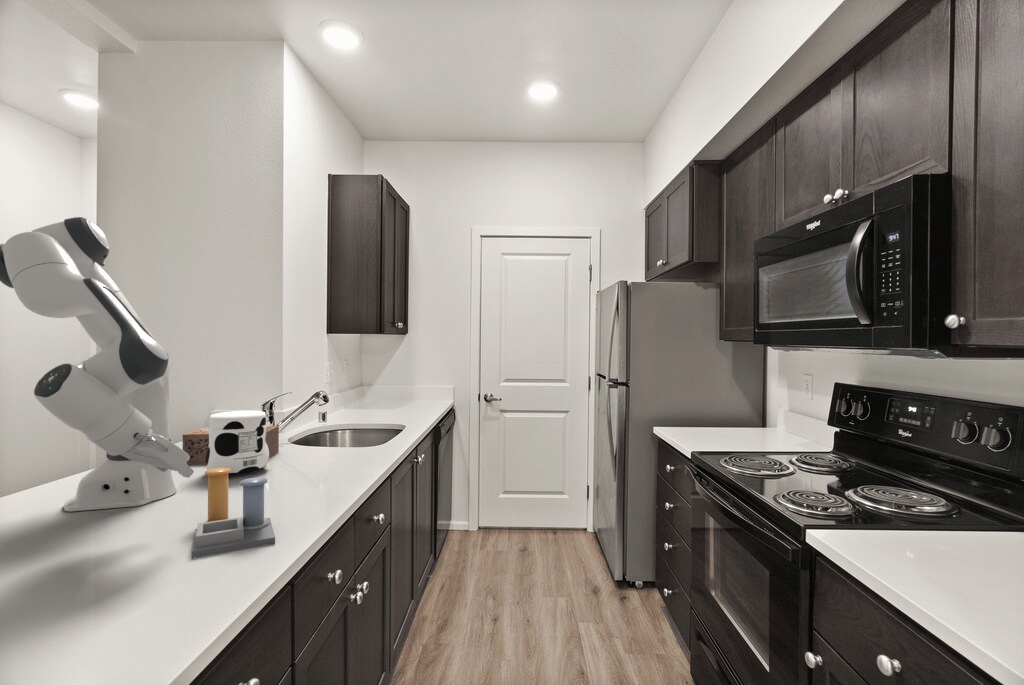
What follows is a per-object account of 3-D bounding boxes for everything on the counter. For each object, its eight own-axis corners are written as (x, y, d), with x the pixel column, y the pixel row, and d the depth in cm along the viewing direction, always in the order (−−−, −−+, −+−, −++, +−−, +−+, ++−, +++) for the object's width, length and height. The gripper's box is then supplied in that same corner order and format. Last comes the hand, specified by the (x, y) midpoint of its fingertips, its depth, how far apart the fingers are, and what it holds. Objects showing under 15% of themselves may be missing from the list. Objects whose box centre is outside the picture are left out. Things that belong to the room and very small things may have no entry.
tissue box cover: (278, 453, 184) (278, 425, 184) (265, 462, 170) (265, 432, 170) (202, 455, 181) (202, 427, 181) (182, 464, 166) (182, 434, 166)
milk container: (227, 465, 165) (227, 410, 165) (279, 465, 164) (279, 410, 164) (191, 479, 148) (192, 418, 148) (250, 480, 147) (250, 418, 147)
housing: (192, 557, 94) (192, 500, 94) (195, 534, 105) (195, 483, 105) (275, 543, 101) (275, 489, 101) (269, 523, 112) (270, 474, 112)
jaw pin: (204, 524, 111) (204, 474, 111) (205, 517, 115) (205, 469, 115) (231, 520, 113) (231, 471, 113) (231, 513, 118) (231, 466, 118)
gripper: (164, 423, 95) (216, 464, 104) (114, 415, 106) (165, 453, 114) (136, 451, 92) (193, 492, 100) (87, 440, 102) (142, 477, 110)
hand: (177, 471), depth 107 cm, fingers open, 8 cm apart
